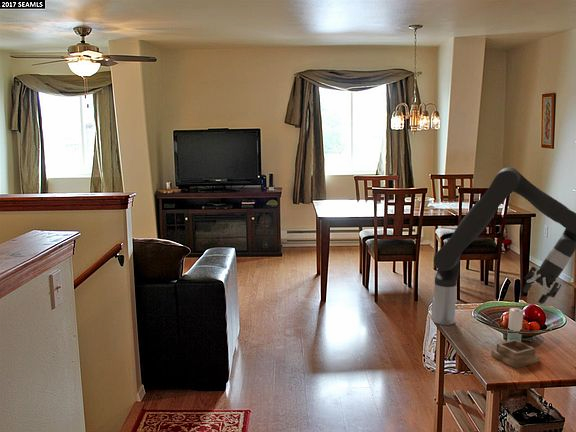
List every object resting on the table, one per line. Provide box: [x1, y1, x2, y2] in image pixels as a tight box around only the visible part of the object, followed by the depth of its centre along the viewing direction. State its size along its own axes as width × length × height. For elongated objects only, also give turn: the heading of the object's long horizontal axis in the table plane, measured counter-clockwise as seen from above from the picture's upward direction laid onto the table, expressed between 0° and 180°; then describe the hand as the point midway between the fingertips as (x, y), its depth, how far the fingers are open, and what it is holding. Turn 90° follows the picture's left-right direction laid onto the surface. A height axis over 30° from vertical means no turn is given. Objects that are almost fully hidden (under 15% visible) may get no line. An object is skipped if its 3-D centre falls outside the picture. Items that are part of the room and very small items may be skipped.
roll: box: [506, 307, 524, 342], centre depth 231 cm, size 5×5×14 cm
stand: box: [490, 339, 541, 369], centre depth 218 cm, size 12×12×5 cm
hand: (532, 297), depth 229 cm, fingers open, 8 cm apart
